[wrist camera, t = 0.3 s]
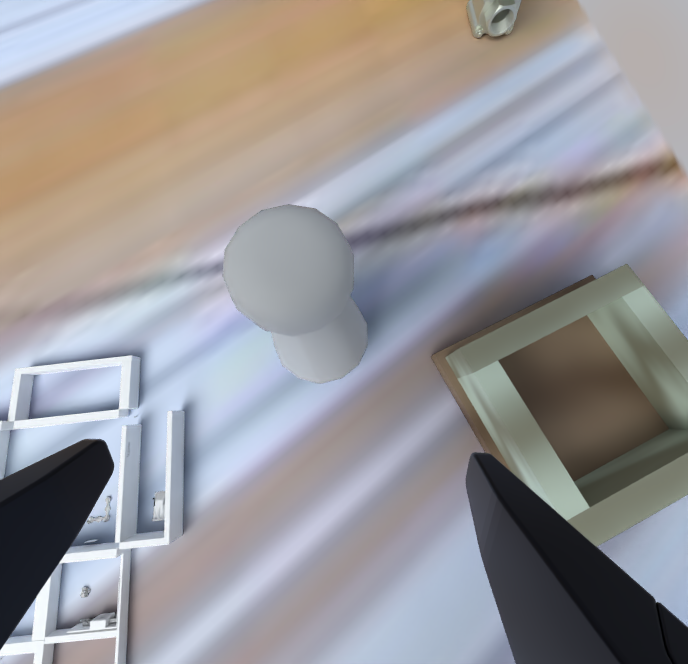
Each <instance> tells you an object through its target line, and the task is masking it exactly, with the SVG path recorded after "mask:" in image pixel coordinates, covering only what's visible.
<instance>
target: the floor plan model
mask: <svg viewBox="0 0 688 664" xmlns="http://www.w3.org/2000/svg"><path fill="white" fill-rule="evenodd" d="M140 361H141V358H140V357H136V356H132V355H130V356H122V357H113V358H104V359H96V360H87V361H78V362H70V363H61V364H52V365H44V366H35V367H26V368H18V369H15V373H14V380H13V387H12V393H11V400H10V407H9V414H8V420H7V421H0V480H1V479H3V478H4V475H5V466H6V459H7V452H8V445H9V438H10V431H11V430H17V429H24V428H35V427H44V426H53V425H62V424H71V423H80V422H89V421H98V420H107V419H116V418H125V417H128V415H129V409H138V401H139V381H140ZM120 365H122V368H121V384H120V399H119V409H117V410H108V411H99V412H90V413H81V414H73V415H64V416H55V417H46V418H37V419H28V418H29V410H30V402H31V395H32V387H33V380H34V375H41V374H50V373H59V372H67V371H76V370H85V369H94V368H102V367H111V366H120ZM136 417H137V416H136ZM184 419H185V411H168V415H167V452H166V487H165V491H158V492H157V493H156V492H155V493H156V494H154V496H155V500H154V510H153V518H152V521H162V520H164V519H165V522H164V531H155V532H146V533H137V515H138V494H139V472H140V451H141V429H142V424H138V425H122V436H121V452H120V468H119V484H118V500H117V516H116V532H115V542H112V543H102V544H93V545H83V546H74V547H70V548H69V549H68V551H67V552H66V554H65V555H64V557H63V558H62V560H61V561H60V563H59V564H58V566H57V567H56V569H55V570H54V572H53V573H52V575H51V576H50V578H49V579H48V581H47V582H46V583H45V585H44V586H43V588H42V589H41V591H40V592H39V594H38V595H37V597H36V605H35V614H34V623H33V632H32V635H25V636H15V637H9V638H8V640H7V641H6V643H5V644H4V646H3V647H2V649H1V650H0V656H6V655H17V654H27V653H35V654H34V664H52V662H53V652H54V643H61V642H71V641H81V640H91V639H102V638H112V637H116V651H115V664H126V652H127V631H128V625H127V624H128V604H129V584H130V564H131V548H139V547H149V546H158V545H168V544H170V543H172V542H173V541H175V540H176V539H178V538H179V537H181V536H182V535H183V485H184ZM153 499H154V498H153ZM105 501H106V507H105V512H106V515H105V517H101V516H98V517H97V518H93V517H90V518H89V519H88V521H87V523H88V524H90V523H92V522H93V521H96V522H100V521H102V520H104V522H107V521H109V519H110V517H109V511H110V506H109V503H110V501H111V498H110V497H107V498H106V500H105ZM97 540H99V539H97ZM97 540H88V541H86V542H84V543H87V542H95V541H97ZM120 555H121V566H120V578H119V588H118V605H117V614H115V613H114V612H113V613H108V614H107V613H106V614H99V615H98V616H97V617H96V618H93V619H80V624H77V625H75V626H74V627H73V628H68V629H58V630H56V624H57V613H58V603H59V592H60V582H61V571H62V563H69V562H79V561H88V560H98V559H108V558H116V557H118V556H120ZM89 592H90V589H89V590H88V588H87V587H83V588H82V592H81V595H80V596H81V598H82V597H88V593H89ZM85 595H86V596H85ZM1 659H2V658H1Z"/></svg>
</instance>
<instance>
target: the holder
mask: <svg viewBox="0 0 688 664" xmlns="http://www.w3.org/2000/svg"><path fill="white" fill-rule="evenodd" d="M431 358H432V359H433V361H434V363H435V365H436V367H437V368H438V370H439V372H440V374H441V375H442V377H443V379H444V381H445V382H446V384H447V386H448V388H449V389H450V391H451V393H452V395H453V396H454V398H455V400H456V402H457V403H458V405H459V407H460V409H461V410H462V412H463V414H464V416H465V417H466V419H467V421H468V423H469V424H470V426H471V428H472V430H473V431H474V433H475V435H476V437H477V438H478V440H479V442H480V444H481V445H482V447H483V449H484V451H485V453H490V454H491V455H493V456H494V457H495V458H496V459H497V460H498V461H500V462H501V463H502V464H503V465H504V466H505V467H506V468H508V469H509V470H510V471H511V472H512V473H513V474H514V475H515V476H517V477H518V478H519V479H520V480H521V481H522V482H523V483H525V484H526V485H527V486H528V487H529V488H530V489H531V490H533V491H534V492H535V493H536V494H537V495H538V496H539V497H540V498H542V499H543V500H544V501H545V502H546V503H547V504H548V505H550V506H551V507H552V508H553V509H554V510H555V511H556V512H557V513H559V514H560V515H561V516H562V517H563V518H564V519H565V520H567V521H568V522H569V523H570V524H571V525H572V526H573V527H574V528H576V529H577V530H578V531H579V532H580V533H581V534H582V535H584V536H585V537H586V538H587V539H588V540H589V541H590V542H592V543H593V544H594V545H595V546H596V547H597V546H599V545H601V544H602V543H604V542H606V541H608V540H609V539H611V538H613V537H615V536H616V535H618V534H620V533H622V532H623V531H625V530H627V529H629V528H630V527H632V526H634V525H636V524H637V523H639V522H641V521H643V520H644V519H646V518H648V517H650V516H651V515H653V514H655V513H656V512H658V511H660V510H662V509H663V508H665V507H667V506H669V505H670V504H672V503H674V502H676V501H677V500H679V499H681V498H683V497H684V496H686V495H688V340H687V339H686V337H685V336H684V335H683V334H682V332H681V331H680V330H679V329H678V327H677V326H676V325H675V324H674V322H673V321H672V320H671V319H670V317H669V316H668V315H667V313H666V312H665V311H664V310H663V308H662V307H661V306H660V305H659V303H658V302H657V301H656V300H655V298H654V297H653V296H652V295H651V293H650V292H649V291H648V290H647V288H646V287H645V286H644V285H643V283H642V282H641V281H640V279H639V278H638V277H637V276H636V274H635V273H634V272H633V271H632V269H631V268H630V267H629V266H628V264H625V265H623V266H621V267H619V268H617V269H615V270H614V271H612V272H610V273H608V274H606V275H604V276H602V277H600V278H598V279H595V278H594V276H593V275H591V276H589V277H587V278H585V279H583V280H581V281H579V282H577V283H575V284H573V285H571V286H569V287H567V288H565V289H563V290H561V291H559V292H557V293H555V294H553V295H551V296H549V297H547V298H545V299H543V300H541V301H539V302H537V303H535V304H533V305H531V306H529V307H527V308H525V309H523V310H521V311H519V312H517V313H515V314H513V315H511V316H509V317H507V318H505V319H503V320H501V321H499V322H497V323H495V324H493V325H491V326H489V327H487V328H485V329H483V330H481V331H479V332H477V333H475V334H473V335H471V336H469V337H467V338H465V339H463V340H461V341H459V342H457V343H455V344H453V345H451V346H449V347H447V348H445V349H443V350H441V351H439V352H437V353H435V354H434V355H432V356H431Z"/></svg>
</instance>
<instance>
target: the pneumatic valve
mask: <svg viewBox="0 0 688 664" xmlns="http://www.w3.org/2000/svg"><path fill="white" fill-rule="evenodd" d="M520 3H521V0H470V1H469V2H468V3H467V6H466V9H467V13H468V17H469V21H470V25H471V29H472V33H473V36H474V37H477V38H480V37H481V36H482V35H483V34H484V33H486V34H489V36H500V35H502V34H505V35H507V34H510V33H511V31H512V29H513V27H514V22H515V20H516V19H517V12H518V10H519V7H520Z"/></svg>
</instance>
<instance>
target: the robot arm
mask: <svg viewBox="0 0 688 664" xmlns="http://www.w3.org/2000/svg"><path fill="white" fill-rule="evenodd" d="M113 470H114V462H113V459H112V457H111V454H110V452H109V449H108V446H107V444H106V442H105V441H104V440H101V439H84V440H82V441H80V442H77V443H75V444H73V445H71V446H69V447H67V448H65V449H63V450H61V451H59V452H57V453H55V454H53V455H51V456H49V457H47V458H44V459H42V460H40V461H38V462H36V463H34V464H32V465H30V466H28V467H26V468H24V469H22V470H20V471H18V472H16V473H14V474H11V475H9V476H7V477H5V478H3V479H1V480H0V650H1V649H2V647H3V646H4V644H5V643H6V641H7V640H8V638H9V637H10V635H11V634H12V632H13V631H14V630H15V628H16V627H17V625H18V624H19V622H20V621H21V619H22V618H23V616H24V615H25V613H26V612H27V610H28V609H29V607H30V606H31V604H32V603H33V601H34V600H35V598H36V597H37V595H38V594H39V592H40V591H41V589H42V588H43V586H44V585H45V583H46V582H47V581H48V579H49V578H50V576H51V575H52V573H53V572H54V570H55V569H56V567H57V566H58V564H59V563H60V561H61V560H62V558H63V557H64V555H65V554H66V552H67V551H68V549H69V548H70V546H71V545H72V543H73V542H74V540H75V539H76V537H77V535H78V534H79V532H80V530H81V529H82V527H83V525H84V523H85V522H86V520H87V518H88V516H89V514H90V513H91V511H92V509H93V507H94V506H95V504H96V502H97V500H98V498H99V497H100V495H101V493H102V491H103V490H104V488H105V486H106V484H107V482H108V481H109V479H110V477H111V475H112V473H113ZM466 489H467V494H468V498H469V503H470V507H471V512H472V517H473V521H474V526H475V530H476V535H477V540H478V544H479V548H480V553H481V557H482V560H483V564H484V567H485V570H486V573H487V576H488V580H489V583H490V586H491V589H492V592H493V595H494V598H495V601H496V604H497V607H498V610H499V613H500V617H501V620H502V623H503V626H504V629H505V632H506V635H507V638H508V641H509V644H510V647H511V650H512V653H513V657H514V660H515V663H516V664H688V627H687V626H686V625H685V624H684V623H683V622H681V621H680V620H679V619H678V618H677V617H676V616H675V615H673V614H672V613H671V612H670V611H669V610H668V609H667V608H666V607H664V606H663V605H662V604H661V603H658V602H657V603H656V601H655V599H654V597H653V596H652V595H651V594H649V593H648V592H647V591H646V590H645V589H644V588H643V587H641V586H640V585H639V584H638V583H637V582H636V581H635V580H634V579H632V578H631V577H630V576H629V575H628V574H627V573H626V572H624V571H623V570H622V569H621V568H620V567H619V566H618V565H616V564H615V563H614V562H613V561H612V560H611V559H610V558H609V557H607V556H606V555H605V554H604V553H603V552H602V551H601V550H599V549H598V548H597V547H596V546H595V545H594V544H593V543H592V542H590V541H589V540H588V539H587V538H586V537H585V536H584V535H582V534H581V533H580V532H579V531H578V530H577V529H576V528H574V527H573V526H572V525H571V524H570V523H569V522H568V521H567V520H565V519H564V518H563V517H562V516H561V515H560V514H559V513H557V512H556V511H555V510H554V509H553V508H552V507H551V506H550V505H548V504H547V503H546V502H545V501H544V500H543V499H542V498H540V497H539V496H538V495H537V494H536V493H535V492H534V491H533V490H531V489H530V488H529V487H528V486H527V485H526V484H525V483H523V482H522V481H521V480H520V479H519V478H518V477H517V476H515V475H514V474H513V473H512V472H511V471H510V470H509V469H508V468H506V467H505V466H504V465H503V464H502V463H501V462H500V461H498V460H497V459H496V458H495V457H494V456H493V455H491V454H490V453H477V452H474V453H472V454H471V456H470V459H469V464H468V469H467V474H466Z"/></svg>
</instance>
